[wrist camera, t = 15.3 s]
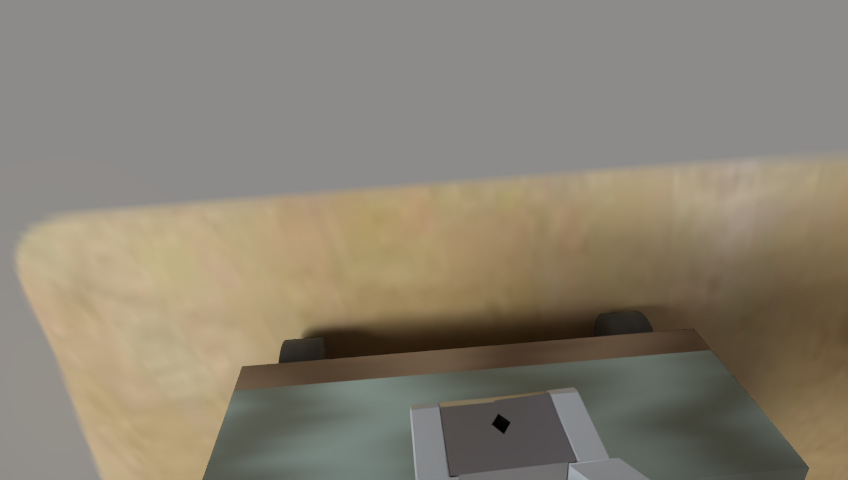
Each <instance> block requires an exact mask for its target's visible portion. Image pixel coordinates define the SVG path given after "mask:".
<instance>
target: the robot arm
mask: <svg viewBox="0 0 848 480" xmlns="http://www.w3.org/2000/svg"><path fill="white" fill-rule="evenodd" d="M410 418H411V430H412V443H413V455H414V468H415V480H650V479H649V478H648V477H646V476H645V475H643V474H642V473H640V472H639V471H637V470H636V469H635V468H633V467H632V466H630V465H629V464H627V463H626V462H625V461H623V460H622V459H620V458H612V459H611V458H610V456H609V454H608V452H607V450H606V448H605V446H604V444H603V442H602V440H601V437H600V435H599V433H598V431H597V429H596V427H595V425H594V423H593V421H592V419H591V417H590V415H589V413H588V411H587V409H586V407H585V404H584V402H583V400H582V398H581V396H580V394H579V392H578V390H576V389H575V388H574V387H571V388H563V389H555V390H547V391H546V392H545V391H540V392H532V393H524V394H516V395H507V396H499V397H492V398H482V399H471V400H459V401H448V402H439V405H438V403H433V404H420V405H411V407H410Z"/></svg>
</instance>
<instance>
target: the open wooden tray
mask: <svg viewBox="0 0 848 480" xmlns="http://www.w3.org/2000/svg"><path fill="white" fill-rule="evenodd" d="M571 387H574V388H575V389H576V390H578V392H579V394H580V396H581V398H582V400H583V402H584V404H585V407H586V409H587V411H588V413H589V415H590V417H591V419H592V421H593V423H594V425H595V427H596V429H597V431H598V433H599V435H600V437H601V440H602V442H603V444H604V446H605V448H606V450H607V452H608V454H609V456H610V458H611V459H612V458H620V459H622V460H623V461H625V462H626V463H627V464H629V465H630V466H632V467H633V468H635V469H636V470H637V471H639V472H640V473H642V474H643V475H645V476H646V477H648V478H649V479H650V480H805V477H806V474H807V472H808V469H809V467H808V466H807V464H806V463H805V462H804V461H803V460H802V458H801V457H800V456H799V455H798V454H797V452H796V451H795V450H794V449H793V448H792V446H791V445H790V444H789V443H788V442H787V440H786V439H785V438H784V437H783V436H782V434H781V433H780V432H779V431H778V430H777V428H776V427H775V426H774V425H773V423H772V422H771V421H770V420H769V419H768V417H767V416H766V415H765V414H764V413H763V411H762V410H761V409H760V408H759V407H758V405H757V404H756V403H755V402H754V401H753V399H752V398H751V397H750V396H749V395H748V393H747V392H746V391H745V390H744V389H743V387H742V386H741V385H740V384H739V383H738V381H737V380H736V379H735V378H734V377H733V375H732V374H731V373H730V372H729V371H728V369H727V368H726V367H725V366H724V365H723V363H722V362H721V361H720V360H719V358H718V357H717V356H716V355H715V354H714V352H713V351H712V350H711V349H710V348H709V346H708V345H707V344H706V343H705V342H704V340H703V339H702V338H701V337H700V336H699V334H698V333H697V332H696V331H695V330H694V329H684V330H672V331H660V332H653V329H652V327H651V325H650V323H649V321H648V319H647V318H646V317H645V315H644V314H642V313H641V312H639V311H631V312H618V313H606V314H600V315H599V316H598V317H597V319H596V322H595V326H594V337H589V338H577V339H565V340H553V341H541V342H529V343H517V344H505V345H493V346H481V347H469V348H457V349H445V350H434V351H422V352H410V353H398V354H386V355H374V356H362V357H350V358H338V359H329V358H328V351H327V347H326V343H325V340H324V338H323V337H316V338H304V339H292V340H285V341H284V342H283V344H282V347H281V351H280V356H279V363H278V364H267V365H255V366H243V367H242V369H241V372H240V375H239V378H238V380H237V383H236V386H235V389H234V392H233V395H232V397H231V400H230V403H229V406H228V409H227V412H226V414H225V417H224V420H223V423H222V426H221V429H220V431H219V434H218V437H217V440H216V443H215V446H214V448H213V451H212V454H211V457H210V460H209V463H208V465H207V468H206V471H205V474H204V477H203V480H415V468H414V455H413V443H412V430H411V418H410V407H411V405H420V404H433V403H438V405H439V402H448V401H459V400H471V399H482V398H492V397H499V396H507V395H516V394H524V393H532V392H540V391H545V392H546V391H547V390H555V389H563V388H571Z"/></svg>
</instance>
